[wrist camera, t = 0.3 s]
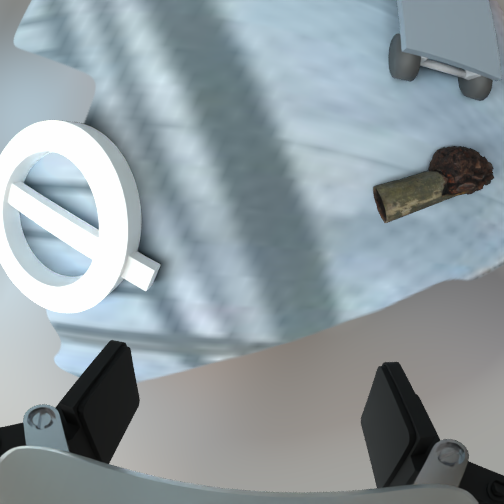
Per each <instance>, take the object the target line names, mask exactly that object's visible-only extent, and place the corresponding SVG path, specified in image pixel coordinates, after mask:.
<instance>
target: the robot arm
mask: <svg viewBox="0 0 504 504" xmlns="http://www.w3.org/2000/svg"><path fill="white" fill-rule="evenodd" d="M139 401H140V400H139V393H138V388H137V383H136V378H135V373H134V367H133V362H132V356H131V350H130V348H129V347H127V345H126V343H124V342H119V341H114V340H111V341H109V343H108V344H107V345H106V346H105V347H104V349H103V350H102V351H101V352H100V353H99V354H98V356H97V357H96V358H95V359H94V360H93V362H92V363H91V364H90V365H89V367H88V368H87V369H86V370H85V371H84V373H83V374H82V375H81V376H80V378H79V379H78V380H77V381H76V382H75V384H74V385H73V386H72V387H71V389H70V390H69V391H68V392H67V394H66V395H65V396H64V397H63V399H62V400H61V401H60V403H59V404H58V405H57V407H56V408H55V407H53V406H50V405H45V404H42V405H36V406H34V407H32V408H30V409H29V410H28V411H27V412H26V413H25V415H24V419H23V423H19V424H15V425H10V426H5V427H0V504H504V476H503V475H501V474H498V473H495V472H493V471H490V470H488V469H486V468H483V467H481V466H478V465H476V464H473V463H471V462H469V461H468V459H469V454H468V450H467V449H466V447H465V446H464V445H463V444H462V443H460V442H458V441H456V440H452V439H444V440H440V439H439V437H438V435H437V432H436V430H435V428H434V426H433V424H432V422H431V420H430V418H429V416H428V414H427V412H426V410H425V408H424V406H423V404H422V402H421V400H420V398H419V397H418V395H417V394H415V392H414V390H413V388H412V386H411V384H410V382H409V381H408V378H407V377H406V375H405V373H404V371H403V369H402V367H401V365H400V364H399V362H385V363H383V365H382V366H379V367H378V369H377V372H376V375H375V378H374V381H373V384H372V388H371V391H370V394H369V397H368V400H367V402H366V405H365V408H364V411H363V414H362V417H361V425H362V429H363V433H364V436H365V441H366V445H367V449H368V453H369V457H370V461H371V464H372V469H373V473H374V477H375V482H376V486H377V488H376V489H366V490H353V491H338V492H309V493H308V492H307V493H296V492H295V493H294V492H293V493H292V492H265V491H250V490H238V489H229V488H220V487H212V486H205V485H199V484H192V483H186V482H181V481H175V480H171V479H166V478H161V477H156V476H152V475H148V474H143V473H140V472H136V471H132V470H128V469H124V468H120V467H117V466H114V465H110V464H109V463H110V461H111V458H112V457H113V455H114V453H115V451H116V449H117V447H118V445H119V443H120V441H121V439H122V437H123V435H124V433H125V431H126V429H127V427H128V425H129V423H130V421H131V419H132V418H133V416H134V414H135V412H136V410H137V408H138V406H139Z"/></svg>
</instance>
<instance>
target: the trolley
mask: <svg viewBox="0 0 504 504" xmlns="http://www.w3.org/2000/svg"><path fill="white" fill-rule="evenodd" d="M397 7H398V15H399V25H400V34H396V35H395V36H394V37H393V39H392V41H391V44H390V49H389V69H390V73H391V75H392V77H393V78H396V79H401V80H406V81H413V80H414V79H415V78H416V76H417V74H418V72H419V68H420V66H423V67H427V68H430V69H434V70H438V71H441V72H445V73H448V74H451V75H454V76H458V81H459V87H460V90H461V92H462V93H463V94H464V95H465V96H466V97H469V98H473V99H476V100H479V101H482V100H484V99H485V98H486V97H487V96H488V95H489V93H490V91H491V88H492V81H493V80H494V81H498V80H502V74H501V65H500V57H499V50H498V44H497V38H496V32H495V27H494V22H493V17H492V13H491V8H490V4H489V0H397ZM428 58H429V59H428ZM430 59H433V60H430ZM434 60H436V61H434ZM437 61H439V62H437ZM440 62H443V63H440ZM444 63H446V64H444ZM447 64H449V65H447ZM450 65H452V66H450ZM453 66H456V67H459V68H456V67H453Z"/></svg>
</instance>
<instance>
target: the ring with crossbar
mask: <svg viewBox="0 0 504 504" xmlns="http://www.w3.org/2000/svg"><path fill="white" fill-rule="evenodd" d="M51 152H56V153H59V154H61V155H63V156H65V157H66V158H68V159H69V160H71V161H72V162H73V163H74V164H75V165H76V166H77V167H78V168H79V169H80V171H81V172H82V173H83V175H84V176H85V178H86V180H87V182H88V184H89V185H90V188H91V190H92V193H93V195H94V199H95V202H96V206H97V211H98V219H99V230H98V229H97V228H95V227H93V226H91V225H90V224H88V223H86V222H85V221H83V220H81V219H80V218H78V217H77V216H75V215H73V214H72V213H70V212H68V211H67V210H65V209H63V208H62V207H60V206H59V205H57V204H55V203H54V202H52V201H51V200H49V199H47V198H46V197H44V196H43V195H41V194H39V193H38V192H36V191H35V190H33V189H32V188H30V187H29V186H27V185H25V184H24V181H25V179H26V176H27V175H28V173H29V171H30V170H31V168H32V167H33V166H34V164H35V163H36V162H37V161H38V160H39V159H41V158H42V157H43V156H45V155H47V154H49V153H51ZM20 212H21V213H22V214H24V215H25V216H27V217H28V218H30V219H31V220H33V221H34V222H35V223H37V224H38V225H40V226H41V227H43V228H44V229H46V230H47V231H49V232H50V233H52V234H53V235H55V236H56V237H58V238H59V239H61V240H62V241H64V242H65V243H67V244H68V245H70V246H72V247H73V248H75V249H76V250H78V251H79V252H81V253H83V254H84V255H86V256H87V257H89V258H91V259H92V260H93V261H92V264H91V265H90V267H89V269H88V270H87V272H86V273H85V274H84V275H81V276H74V277H72V276H64V275H60V274H58V273H55V272H53V271H52V270H50V269H48V268H47V267H46V266H45V265H43V264H42V263H41V262H40V261H39V260H38V259H37V257H36V256H35V255H34V253H33V252H32V250H31V249H30V247H29V245H28V243H27V241H26V239H25V236H24V233H23V230H22V226H21V220H20ZM140 236H141V205H140V198H139V193H138V189H137V186H136V182H135V179H134V177H133V174H132V172H131V169H130V167H129V165H128V163H127V161H126V160H125V158H124V156H123V155H122V153H121V152H120V150H119V149H118V148H117V147H116V145H115V144H114V143H113V142H112V141H111V140H110V139H109V138H108V137H106V136H105V135H104V134H103V133H101V132H100V131H98V130H97V129H95V128H93V127H91V126H88V125H85V124H83V123H78V122H68V121H58V120H47V121H41V122H38V123H35V124H32V125H30V126H28V127H27V128H25V129H23V130H22V131H21V132H19V133H18V134H17V135H16V136H15V137H14V138H13V139H12V140H11V141H10V142H9V143H8V144H7V146H6V147H5V149H4V150H3V152H2V153H1V156H0V262H1V264H2V266H3V268H4V270H5V271H6V273H7V275H8V276H9V278H10V279H11V280H12V281H13V283H14V284H15V285H16V286H17V288H18V289H19V290H20V291H21V292H22V293H23V294H24V295H26V296H27V297H28V298H29V299H31V300H32V301H33V302H35V303H37V304H38V305H40V306H42V307H44V308H46V309H49V310H52V311H55V312H60V313H76V312H81V311H84V310H87V309H89V308H91V307H93V306H95V305H96V304H98V303H99V302H100V301H101V300H103V299H104V298H105V297H106V296H107V295H108V294H109V293H110V292H112V291H113V290H114V289H115V288H116V287H117V286H118V285H119V284H120V283H121V282H122V281H123V279H126V280H127V281H129V282H131V283H132V284H134V285H136V286H138V287H139V288H141V289H143V290H145V291H147V290H148V289H149V288H150V287H151V286H152V284H153V282H154V279H155V277H156V275H157V272H158V270H159V268H160V265H161V264H159V263H157V262H155V261H153V260H151V259H150V258H148V257H146V256H144V255H143V254H141V253H139V252H137V251H138V247H139V242H140Z"/></svg>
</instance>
